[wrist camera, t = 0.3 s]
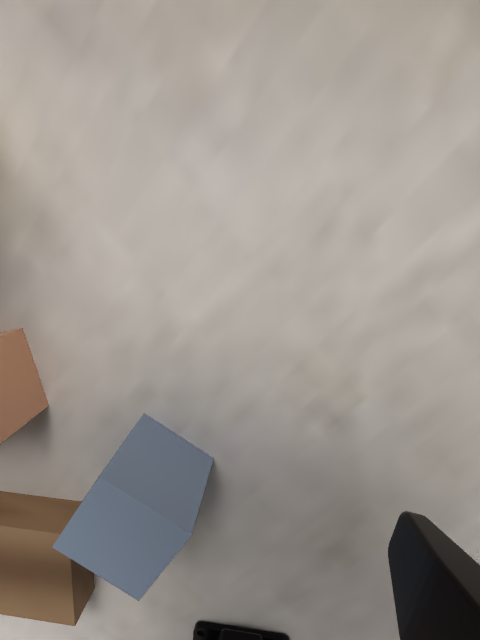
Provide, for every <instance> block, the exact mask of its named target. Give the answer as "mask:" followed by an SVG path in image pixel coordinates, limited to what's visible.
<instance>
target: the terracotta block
mask: <svg viewBox="0 0 480 640" xmlns="http://www.w3.org/2000/svg"><path fill="white" fill-rule="evenodd" d="M47 406H49V404H48V401H47V399H46V396H45V393H44V390H43V387H42V384H41V381H40V378H39V375H38V372H37V369H36V366H35V363H34V360H33V357H32V354H31V351H30V348H29V346H28V343H27V340H26V337H25V334H24V331H23V328H20V329H14V330H9V331H3V332H0V444H1V443H2V442H3V441H5V440H6V439H7V438H8V437H10V436H11V435H12V434H13V433H15V432H16V431H17V430H19V429H20V428H21V427H22V426H24V425H25V424H26V423H27V422H29V421H30V420H31V419H32V418H34V417H35V416H36V415H37V414H39V413H40V412H41V411H42V410H44V409H45V408H46V407H47Z"/></svg>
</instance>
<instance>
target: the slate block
mask: <svg viewBox="0 0 480 640" xmlns="http://www.w3.org/2000/svg"><path fill="white" fill-rule="evenodd" d="M213 459H214V458H213V457H211V456H209V455H208V454H206V453H205V452H203V451H202V450H200V449H199V448H197V447H196V446H194V445H192V444H191V443H189V442H188V441H186V440H185V439H183V438H182V437H180V436H179V435H177V434H175V433H174V432H172V431H171V430H169V429H168V428H166V427H165V426H163V425H162V424H160V423H158V422H157V421H155V420H154V419H152V418H151V417H149V416H148V415H146V414H145V413H144V414H143V416H142V417H141V419H140V420H139V421H138V423H137V424H136V426H135V427H134V428H133V430H132V431H131V433H130V434H129V435H128V437H127V438H126V440H125V441H124V442H123V444H122V445H121V447H120V448H119V449H118V451H117V452H116V453H115V455H114V456H113V458H112V459H111V460H110V462H109V463H108V465H107V466H106V467H105V469H104V470H103V472H102V473H101V474H100V476H99V477H98V479H97V480H96V482H95V483H94V485H93V486H92V488H91V489H90V491H89V492H88V494H87V495H86V497H85V498H84V500H83V501H82V503H81V504H80V506H79V507H78V509H77V510H76V512H75V513H74V515H73V516H72V518H71V519H70V521H69V522H68V524H67V525H66V527H65V528H64V530H63V531H62V533H61V534H60V536H59V537H58V539H57V540H56V542H55V543H54V545H53V546H52V547H53V548H54V549H56V550H57V551H59V552H61V553H62V554H64V555H65V556H67V557H69V558H70V559H72V560H74V561H75V562H77V563H78V564H80V565H82V566H83V567H85V568H86V569H88V570H90V571H91V572H93V573H95V574H96V575H98V576H99V577H101V578H103V579H104V580H106V581H107V582H109V583H111V584H112V585H114V586H116V587H117V588H119V589H120V590H122V591H124V592H125V593H127V594H129V595H130V596H132V597H133V598H135V599H137V600H138V601H139V600H140V599H141V598H142V596H143V595H144V594H145V593H146V591H147V590H148V589H149V588H150V586H151V585H152V584H153V583H154V581H155V580H156V579H157V578H158V576H159V575H160V574H161V573H162V571H163V570H164V569H165V568H166V566H167V565H168V564H169V563H170V561H171V560H172V559H173V558H174V556H175V555H176V554H177V553H178V551H179V550H180V549H181V548H182V546H183V545H184V544H185V543H186V541H187V540H188V539H189V538H190V537H191V535H192V532H193V529H194V525H195V522H196V518H197V515H198V511H199V508H200V504H201V501H202V497H203V494H204V490H205V487H206V483H207V480H208V477H209V473H210V470H211V466H212V463H213Z"/></svg>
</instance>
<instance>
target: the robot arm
mask: <svg viewBox="0 0 480 640" xmlns="http://www.w3.org/2000/svg"><path fill="white" fill-rule="evenodd" d="M388 558H389V565H390V572H391V579H392V586H393V593H394V601H395V608H396V615H397V622H398V628H399V634H400V640H480V565H479V564H478V563H477V562H476V561H474V560H473V559H472V558H471V557H470V556H469V555H468V554H467V553H466V552H464V551H463V550H462V549H461V548H460V547H459V546H458V545H457V544H456V543H454V542H453V541H452V540H451V539H450V538H449V537H448V536H447V535H445V534H444V533H443V532H442V531H441V530H440V529H439V528H438V527H437V526H435V525H434V524H433V523H432V522H431V521H430V520H429V519H428V518H426V517H425V516H423V515H420V514H416V513H412V512H408V511H405V512H402V513H401V515H400V516H399V519H398V521H397V524H396V527H395V529H394V532H393V535H392V537H391V540H390V543H389V547H388ZM193 640H289V638H288V637H287V636H286V635H283V634H276V633H270V632H263V631H257V630H251V629H244V628H238V627H231V626H225V625H219V624H212V623H206V622H198V623H196V624H195V628H194V634H193Z"/></svg>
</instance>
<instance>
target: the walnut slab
mask: <svg viewBox="0 0 480 640" xmlns="http://www.w3.org/2000/svg"><path fill="white" fill-rule="evenodd" d="M81 503H82V502H80V501H72V500H64V499H56V498H49V497H41V496H33V495H25V494H18V493H10V492H2V491H0V614H3V615H9V616H15V617H21V618H28V619H34V620H40V621H46V622H53V623H59V624H65V625H72V626H75V625H76V623H77V621H78V619H79V617H80V615H81V613H82V611H83V609H84V607H85V605H86V603H87V601H88V600H89V598H90V596H91V594H92V592H93V590H94V588H95V585H94V573H93V572H91V571H90V570H88V569H86V568H85V567H83V566H82V565H80V564H78V563H77V562H75V561H74V560H72V559H70V558H69V557H67V556H65V555H64V554H62V553H61V552H59V551H57V550H56V549H54V548H53V547H52V546H53V545H54V543H55V542H56V540H57V539H58V537H59V536H60V534H61V533H62V531H63V530H64V528H65V527H66V525H67V524H68V522H69V521H70V519H71V518H72V516H73V515H74V513H75V512H76V510H77V509H78V507H79V506H80V504H81Z"/></svg>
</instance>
